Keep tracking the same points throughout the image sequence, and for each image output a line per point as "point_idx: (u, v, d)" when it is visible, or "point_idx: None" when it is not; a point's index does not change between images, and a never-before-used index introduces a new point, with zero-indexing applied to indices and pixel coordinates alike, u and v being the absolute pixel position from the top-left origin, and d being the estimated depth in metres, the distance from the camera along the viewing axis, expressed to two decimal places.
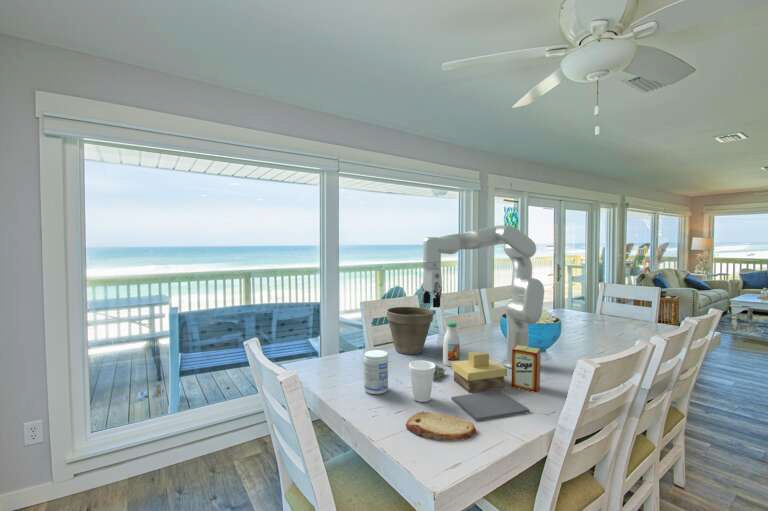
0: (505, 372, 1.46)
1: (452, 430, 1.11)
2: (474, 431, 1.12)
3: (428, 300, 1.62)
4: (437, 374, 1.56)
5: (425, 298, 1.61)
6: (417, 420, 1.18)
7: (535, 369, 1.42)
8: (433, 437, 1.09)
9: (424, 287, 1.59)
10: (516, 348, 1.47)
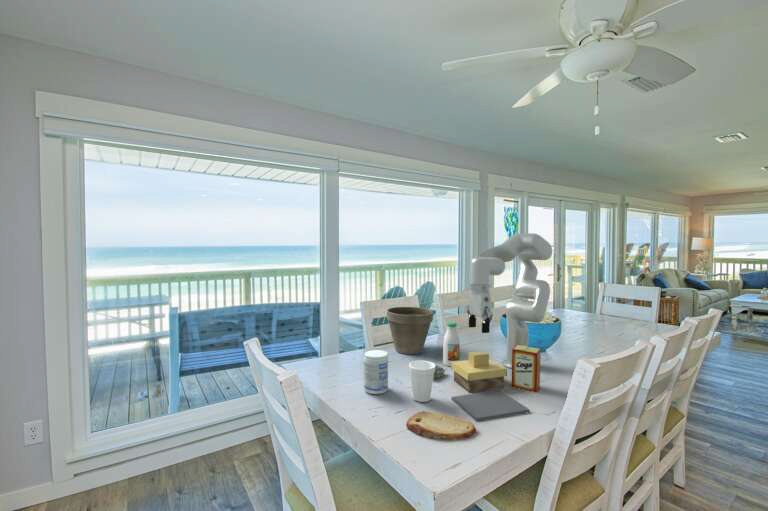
0: (505, 372, 1.46)
1: (452, 430, 1.11)
2: (474, 431, 1.12)
3: (474, 324, 1.53)
4: (437, 374, 1.56)
5: (471, 322, 1.53)
6: (417, 420, 1.18)
7: (535, 369, 1.42)
8: (433, 437, 1.09)
9: (470, 310, 1.50)
10: (516, 348, 1.47)
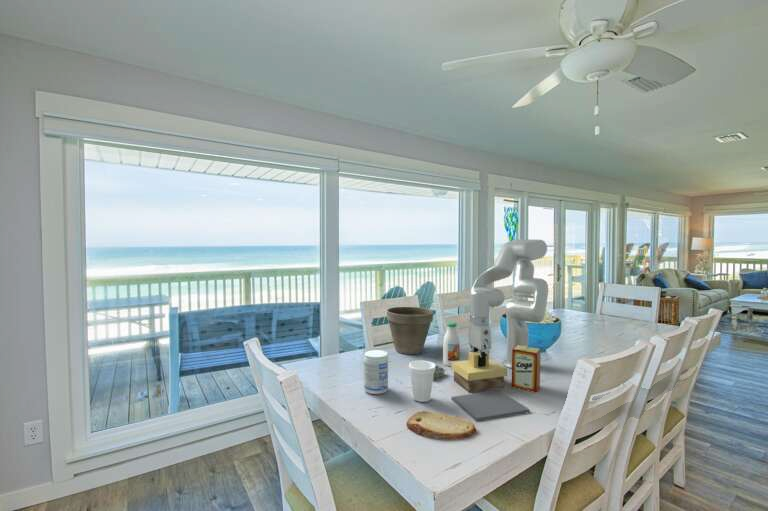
0: (505, 372, 1.46)
1: (452, 429, 1.11)
2: (474, 431, 1.12)
3: None
4: (436, 374, 1.56)
5: None
6: (417, 420, 1.18)
7: (535, 369, 1.42)
8: (433, 436, 1.09)
9: (470, 342, 1.51)
10: (516, 348, 1.47)
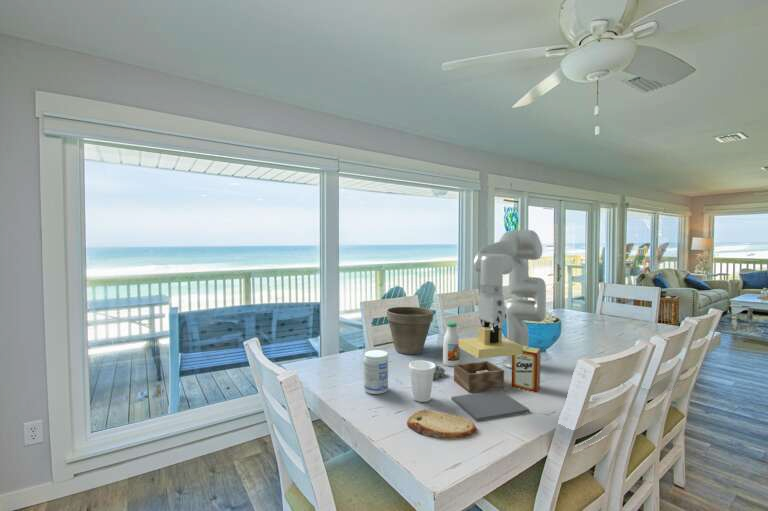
0: (521, 350, 1.26)
1: (452, 428, 1.11)
2: (474, 430, 1.12)
3: None
4: (435, 374, 1.56)
5: None
6: (418, 419, 1.19)
7: (535, 369, 1.42)
8: (433, 435, 1.10)
9: (481, 315, 1.31)
10: None
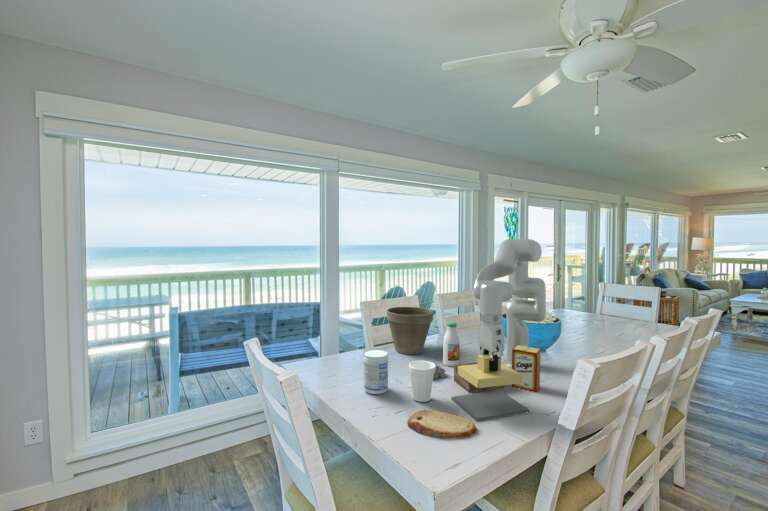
0: (520, 378, 1.26)
1: (453, 428, 1.12)
2: (474, 430, 1.12)
3: None
4: (435, 374, 1.56)
5: None
6: (418, 418, 1.19)
7: (535, 369, 1.42)
8: (433, 435, 1.10)
9: (480, 343, 1.32)
10: (516, 348, 1.47)
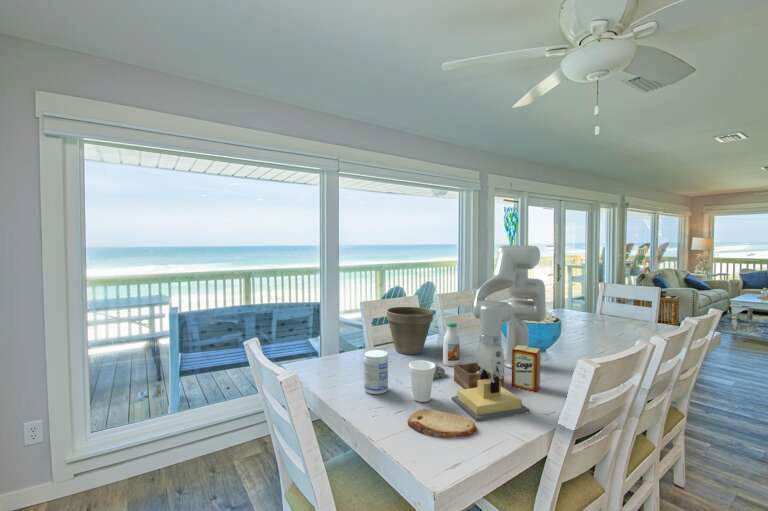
0: (520, 404, 1.27)
1: (453, 428, 1.12)
2: (474, 430, 1.13)
3: None
4: (434, 374, 1.56)
5: None
6: (418, 418, 1.20)
7: (535, 369, 1.42)
8: (433, 434, 1.10)
9: (480, 363, 1.32)
10: (516, 348, 1.47)
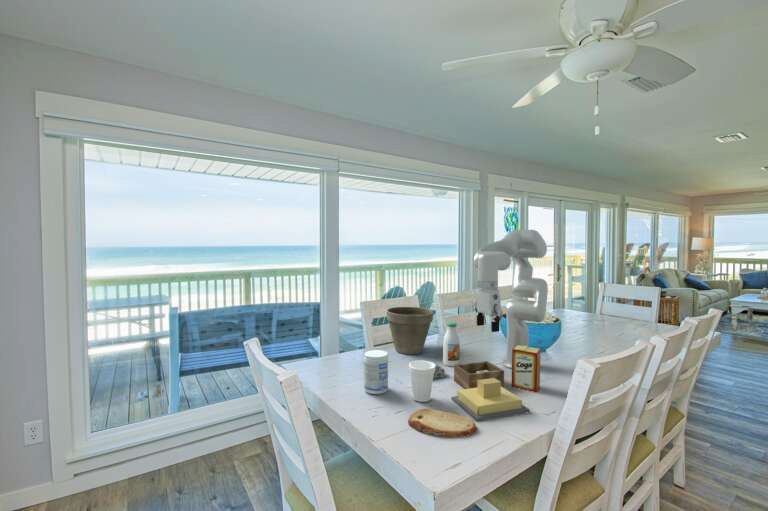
0: (520, 404, 1.27)
1: (453, 427, 1.12)
2: (474, 429, 1.13)
3: (482, 322, 1.46)
4: (434, 374, 1.56)
5: (479, 320, 1.46)
6: (419, 417, 1.20)
7: (535, 369, 1.42)
8: (433, 433, 1.11)
9: (478, 308, 1.43)
10: (516, 348, 1.47)
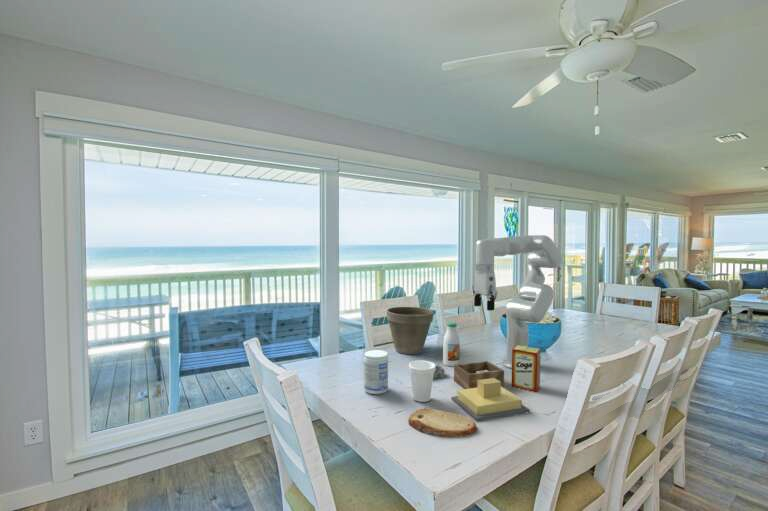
0: (520, 404, 1.27)
1: (453, 427, 1.12)
2: (475, 429, 1.13)
3: (479, 303, 1.60)
4: None
5: (476, 301, 1.60)
6: (419, 416, 1.20)
7: (535, 369, 1.42)
8: (433, 433, 1.11)
9: (476, 290, 1.58)
10: (516, 348, 1.47)
